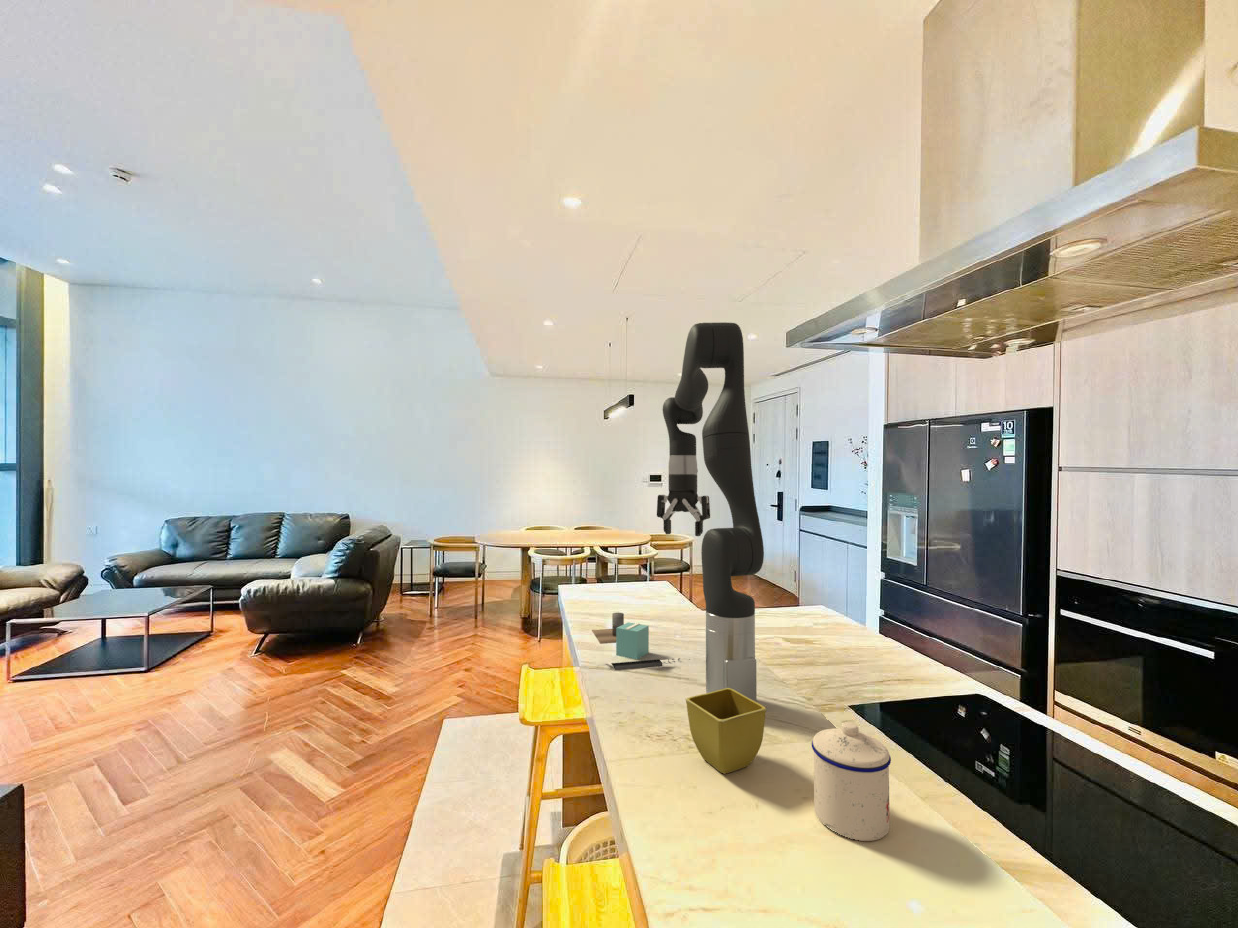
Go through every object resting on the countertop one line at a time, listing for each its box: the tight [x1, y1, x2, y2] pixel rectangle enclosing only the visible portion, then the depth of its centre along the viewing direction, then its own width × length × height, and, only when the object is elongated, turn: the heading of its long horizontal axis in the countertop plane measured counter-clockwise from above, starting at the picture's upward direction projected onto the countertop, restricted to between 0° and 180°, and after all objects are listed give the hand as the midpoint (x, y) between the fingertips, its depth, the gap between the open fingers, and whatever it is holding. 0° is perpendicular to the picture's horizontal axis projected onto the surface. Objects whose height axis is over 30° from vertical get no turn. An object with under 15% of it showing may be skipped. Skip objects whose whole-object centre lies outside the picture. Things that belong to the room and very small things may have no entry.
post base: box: [591, 612, 625, 645], centre depth 136 cm, size 12×12×7 cm
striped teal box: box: [615, 622, 650, 662], centre depth 122 cm, size 6×6×7 cm
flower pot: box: [685, 688, 767, 775], centre depth 78 cm, size 9×9×9 cm
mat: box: [610, 658, 663, 671], centre depth 122 cm, size 11×11×1 cm
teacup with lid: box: [811, 721, 892, 842], centre depth 66 cm, size 12×9×12 cm
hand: (682, 534), depth 135 cm, fingers open, 8 cm apart
